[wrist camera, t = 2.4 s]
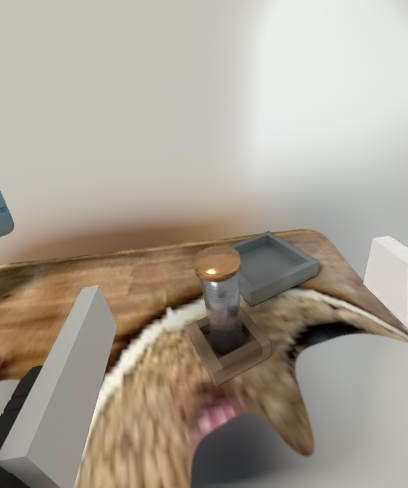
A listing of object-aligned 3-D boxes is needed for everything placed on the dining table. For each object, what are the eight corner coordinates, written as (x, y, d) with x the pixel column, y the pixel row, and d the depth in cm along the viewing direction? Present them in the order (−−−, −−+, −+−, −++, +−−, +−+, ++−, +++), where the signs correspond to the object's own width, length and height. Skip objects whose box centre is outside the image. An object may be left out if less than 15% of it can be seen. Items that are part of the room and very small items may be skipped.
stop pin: (203, 337, 31) (186, 255, 25) (234, 322, 32) (225, 241, 26) (220, 366, 27) (205, 279, 21) (254, 348, 29) (249, 261, 23)
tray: (212, 264, 45) (211, 252, 44) (268, 242, 49) (268, 231, 47) (251, 306, 35) (250, 292, 34) (317, 275, 39) (319, 261, 38)
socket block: (190, 338, 32) (187, 325, 31) (238, 315, 34) (236, 302, 33) (215, 386, 26) (213, 373, 25) (271, 356, 29) (271, 342, 27)
